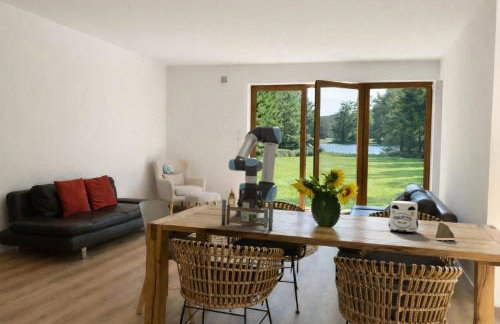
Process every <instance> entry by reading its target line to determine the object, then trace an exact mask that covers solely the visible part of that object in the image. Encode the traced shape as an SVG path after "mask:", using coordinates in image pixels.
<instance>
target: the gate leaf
mask: <svg viewBox="0 0 500 324" xmlns="http://www.w3.org/2000/svg"><path fill="white" fill-rule="evenodd" d="M231 211H235V212H236V211H244V212H256V213H259V214H263V222H259V221H258V222H248V221H242V220H236V219H231ZM231 224H237V225H246V226H247V225H249V226H257V227H263V229H268V225H269V207H263V208H261V209H253V208H241V207H238V206H231V205H230V204H226V219H225V226H226V225H227V226H230V225H231Z"/></svg>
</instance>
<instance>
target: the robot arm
mask: <svg viewBox="0 0 500 324" xmlns="http://www.w3.org/2000/svg"><path fill="white" fill-rule="evenodd" d="M282 142H283V136H282V131H281V128H280V127H279V126H264V125H263V126H262V125H259V126H255V127H253V128H252V129H251V130H249V131H248V132H247V133H246V135H245V136H244V141H243V143H242V145H241V147H240V148H239V151H238V152H237V154H236V155H235V158H230V159H229V161H228V169H229V170H231V171H235V172H236V171H237V172H244V173H245V174H244V175H245V177H244V181H245V182H242V183H241V182H240V184H239V188H238V199H237V202H236V205H237V207H241V208H242V203H243V201H242V199H243V200H246V199H254V200H255V201H257V200H259V201H258V202H257V206H258V208H257V209H263V208H265V205H264V202H267V203H268V202H270V203H272V202H274V201H275V199H276V197H277V193H278V186H277V185H276V183H275V181H274V175H275V164H276V156H277V155H276V154H277V148H278V147H279V146H280V144H282ZM258 143H262V146H263V157H262V161H261V160H259V159H258V158H257V157H249V156H250V155H251V153H252V151H253V149H254V146H256V145H257V144H258ZM259 172H261V175H260V176H261V177H260V180H259V181H258V173H259ZM257 182H258V183H257ZM235 215H237V216H239V217H241V218H242V211H235ZM257 219H258V220H259V219H260V213H257Z"/></svg>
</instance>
